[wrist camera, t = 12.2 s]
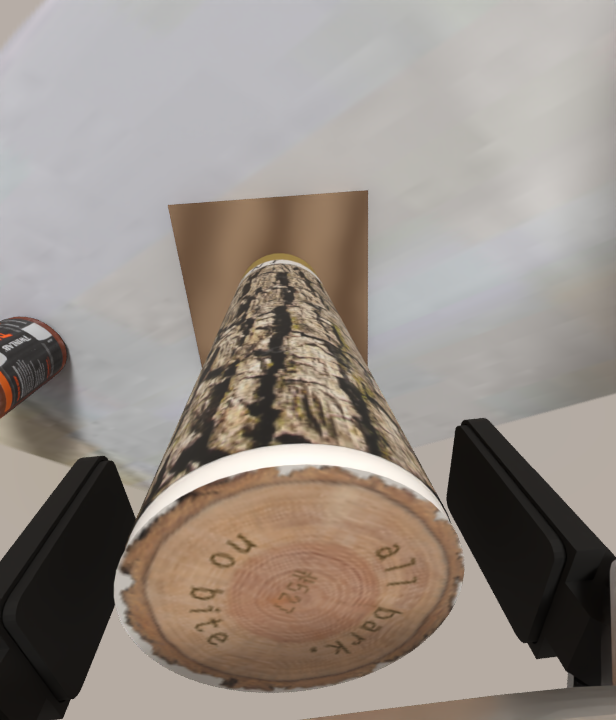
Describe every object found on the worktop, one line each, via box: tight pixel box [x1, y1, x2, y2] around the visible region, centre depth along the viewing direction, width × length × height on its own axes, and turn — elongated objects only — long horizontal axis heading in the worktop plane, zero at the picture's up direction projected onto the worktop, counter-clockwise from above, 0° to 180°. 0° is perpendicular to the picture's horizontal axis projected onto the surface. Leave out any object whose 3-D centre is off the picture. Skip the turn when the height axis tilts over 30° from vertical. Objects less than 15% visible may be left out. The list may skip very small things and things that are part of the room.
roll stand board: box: [168, 190, 368, 368], centre depth 30 cm, size 15×15×2 cm
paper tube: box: [114, 253, 464, 693], centre depth 18 cm, size 7×7×25 cm
